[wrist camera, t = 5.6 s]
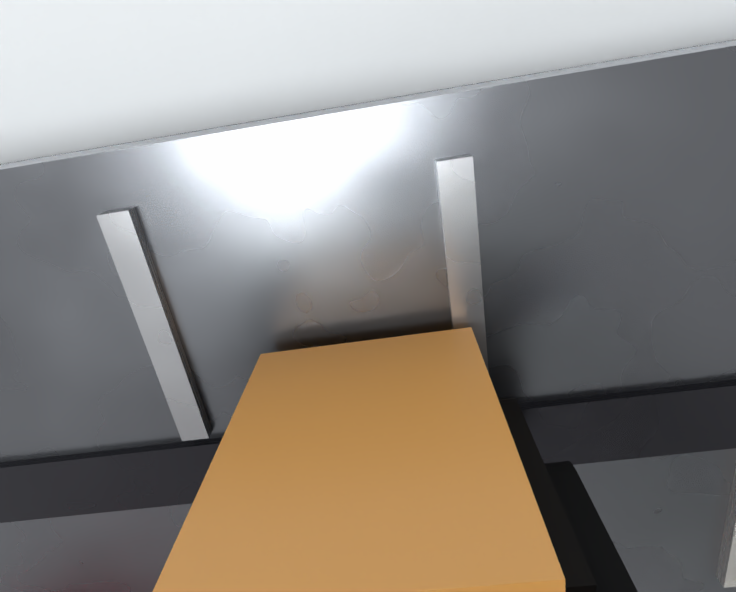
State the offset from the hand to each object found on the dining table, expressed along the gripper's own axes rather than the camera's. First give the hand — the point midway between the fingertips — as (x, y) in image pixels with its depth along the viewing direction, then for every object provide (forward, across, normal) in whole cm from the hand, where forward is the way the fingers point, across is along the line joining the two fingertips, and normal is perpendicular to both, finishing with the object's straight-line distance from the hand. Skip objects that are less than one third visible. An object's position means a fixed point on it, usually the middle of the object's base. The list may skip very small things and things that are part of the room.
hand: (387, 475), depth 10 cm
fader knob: (0, 0, 0) cm, 0 cm away
